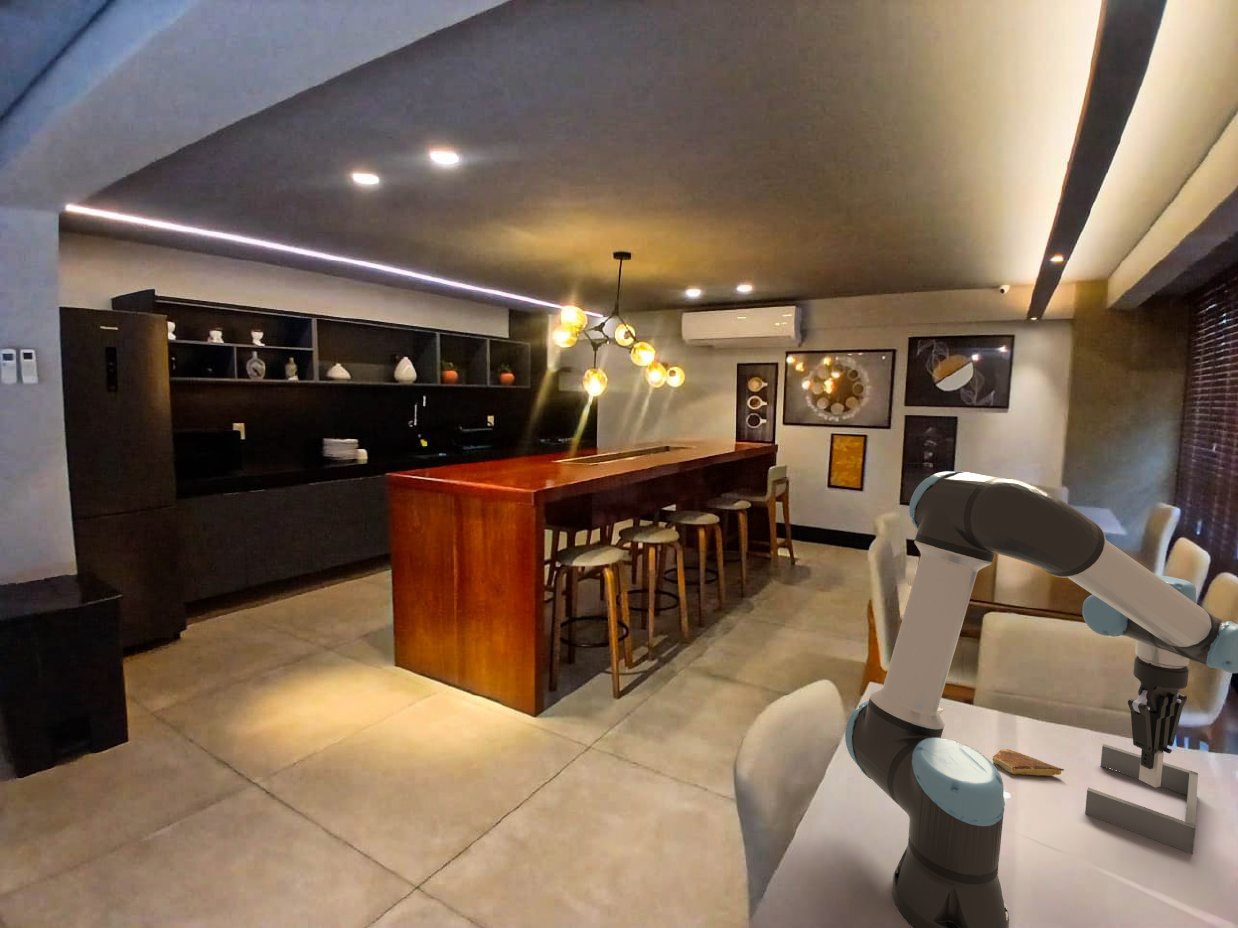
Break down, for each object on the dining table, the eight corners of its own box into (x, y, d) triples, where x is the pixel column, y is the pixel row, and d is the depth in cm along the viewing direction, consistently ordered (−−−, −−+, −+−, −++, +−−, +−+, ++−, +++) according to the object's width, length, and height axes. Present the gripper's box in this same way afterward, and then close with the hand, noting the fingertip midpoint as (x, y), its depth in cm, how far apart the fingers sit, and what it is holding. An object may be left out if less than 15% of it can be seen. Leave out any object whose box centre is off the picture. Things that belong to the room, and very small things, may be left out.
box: (1085, 813, 113) (1087, 790, 113) (1101, 764, 129) (1103, 743, 129) (1192, 853, 103) (1195, 828, 103) (1195, 794, 119) (1198, 772, 119)
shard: (1064, 776, 124) (1064, 767, 124) (1051, 791, 119) (1051, 782, 119) (1003, 753, 132) (1004, 745, 132) (989, 766, 127) (990, 758, 127)
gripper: (1162, 673, 107) (1149, 801, 109) (1208, 664, 112) (1195, 787, 114) (1115, 657, 114) (1104, 777, 117) (1160, 649, 119) (1149, 765, 121)
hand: (1149, 782), depth 115 cm, fingers closed
